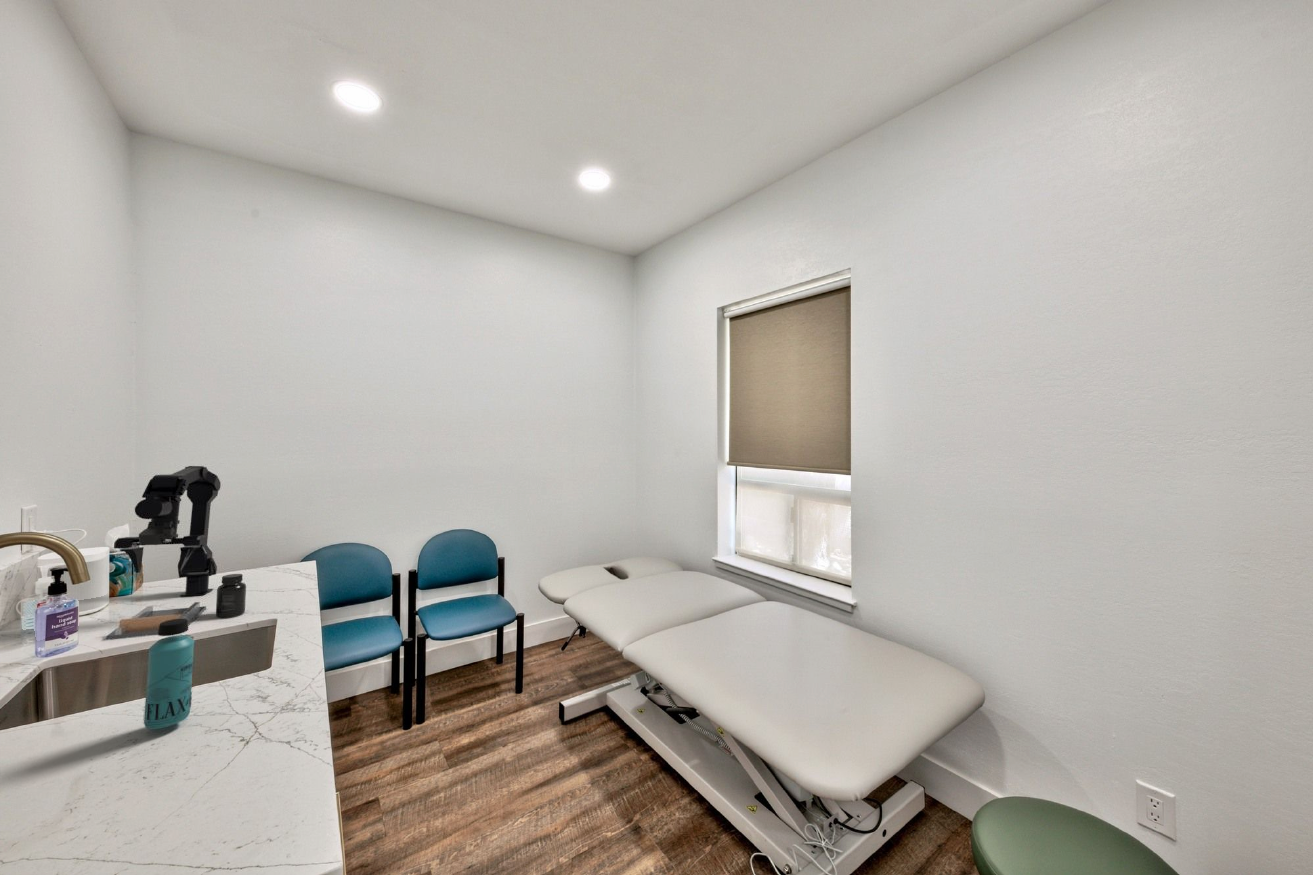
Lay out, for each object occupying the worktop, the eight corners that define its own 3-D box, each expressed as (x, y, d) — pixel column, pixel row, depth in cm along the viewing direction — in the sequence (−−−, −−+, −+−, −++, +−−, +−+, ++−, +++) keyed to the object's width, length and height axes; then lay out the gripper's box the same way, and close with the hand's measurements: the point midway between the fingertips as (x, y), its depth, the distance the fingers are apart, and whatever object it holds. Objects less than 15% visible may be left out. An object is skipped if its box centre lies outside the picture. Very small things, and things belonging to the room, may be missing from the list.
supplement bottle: (250, 612, 154) (253, 573, 154) (229, 619, 147) (232, 579, 148) (230, 610, 155) (232, 571, 155) (209, 617, 148) (211, 577, 148)
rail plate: (140, 615, 148) (140, 601, 148) (205, 609, 155) (206, 596, 155) (106, 639, 130) (107, 624, 130) (182, 631, 137) (183, 617, 137)
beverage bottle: (135, 741, 89) (141, 629, 89) (151, 722, 95) (157, 617, 95) (183, 732, 92) (189, 624, 92) (196, 714, 98) (202, 613, 98)
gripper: (105, 519, 135) (98, 578, 133) (194, 518, 143) (188, 573, 141) (128, 517, 145) (121, 572, 143) (209, 516, 153) (204, 568, 151)
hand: (159, 571), depth 144 cm, fingers open, 9 cm apart
